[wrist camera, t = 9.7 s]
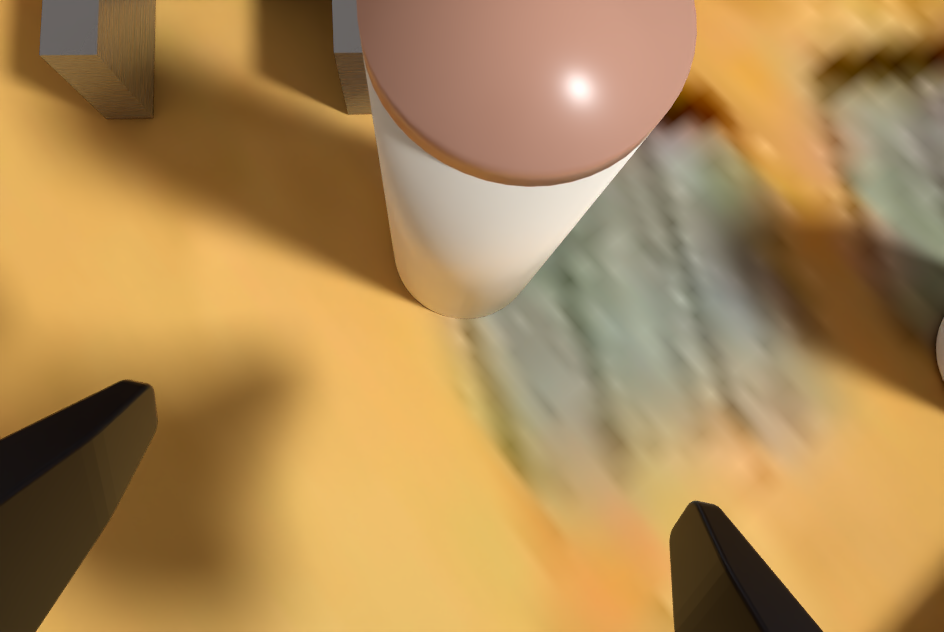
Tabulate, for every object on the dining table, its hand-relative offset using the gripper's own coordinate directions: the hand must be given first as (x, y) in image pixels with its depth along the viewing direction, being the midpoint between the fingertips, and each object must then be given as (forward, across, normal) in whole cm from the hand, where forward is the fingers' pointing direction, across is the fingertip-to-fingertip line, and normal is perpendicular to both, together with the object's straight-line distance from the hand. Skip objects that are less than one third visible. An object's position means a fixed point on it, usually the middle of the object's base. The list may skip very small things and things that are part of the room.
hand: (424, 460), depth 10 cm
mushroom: (+11, 0, +2) cm, 11 cm away
